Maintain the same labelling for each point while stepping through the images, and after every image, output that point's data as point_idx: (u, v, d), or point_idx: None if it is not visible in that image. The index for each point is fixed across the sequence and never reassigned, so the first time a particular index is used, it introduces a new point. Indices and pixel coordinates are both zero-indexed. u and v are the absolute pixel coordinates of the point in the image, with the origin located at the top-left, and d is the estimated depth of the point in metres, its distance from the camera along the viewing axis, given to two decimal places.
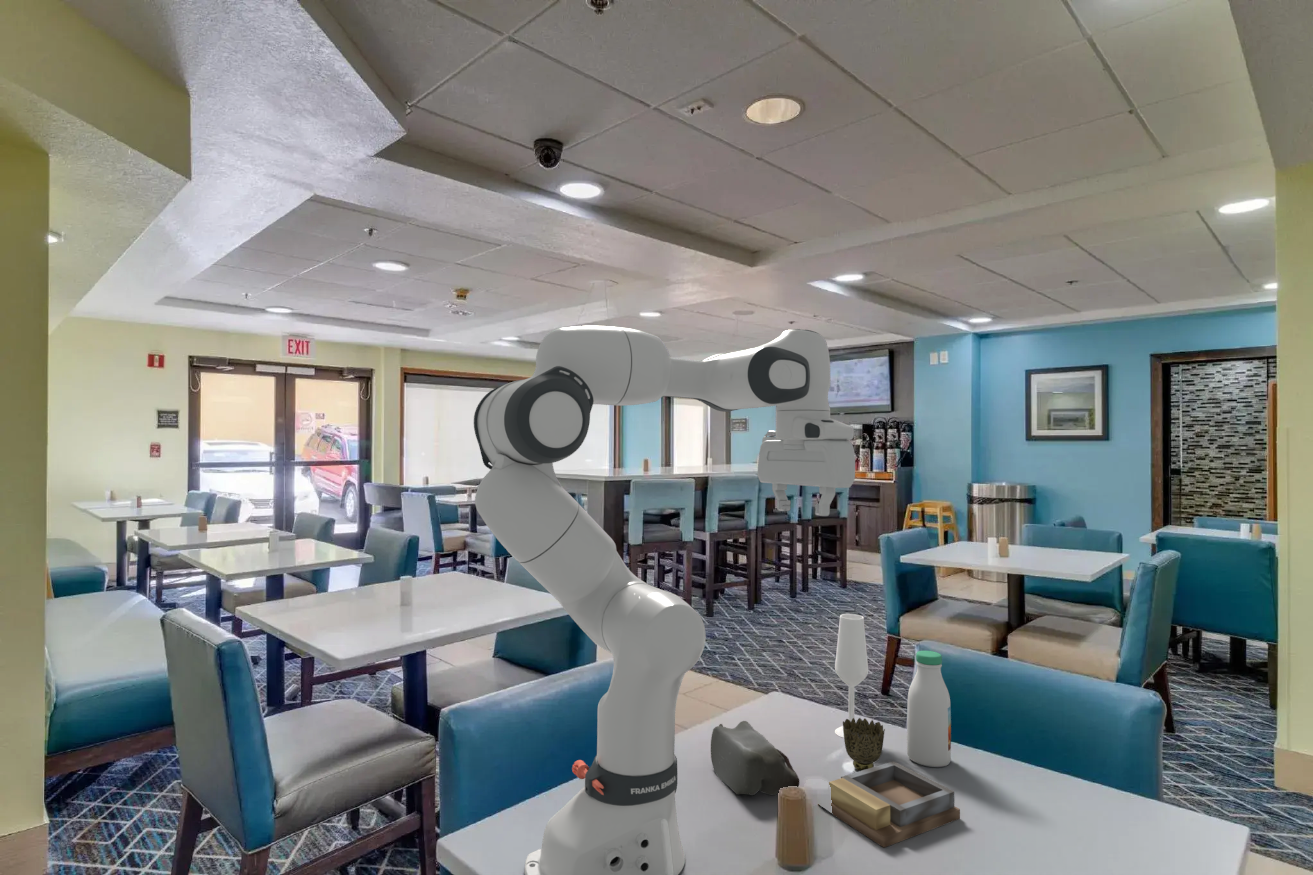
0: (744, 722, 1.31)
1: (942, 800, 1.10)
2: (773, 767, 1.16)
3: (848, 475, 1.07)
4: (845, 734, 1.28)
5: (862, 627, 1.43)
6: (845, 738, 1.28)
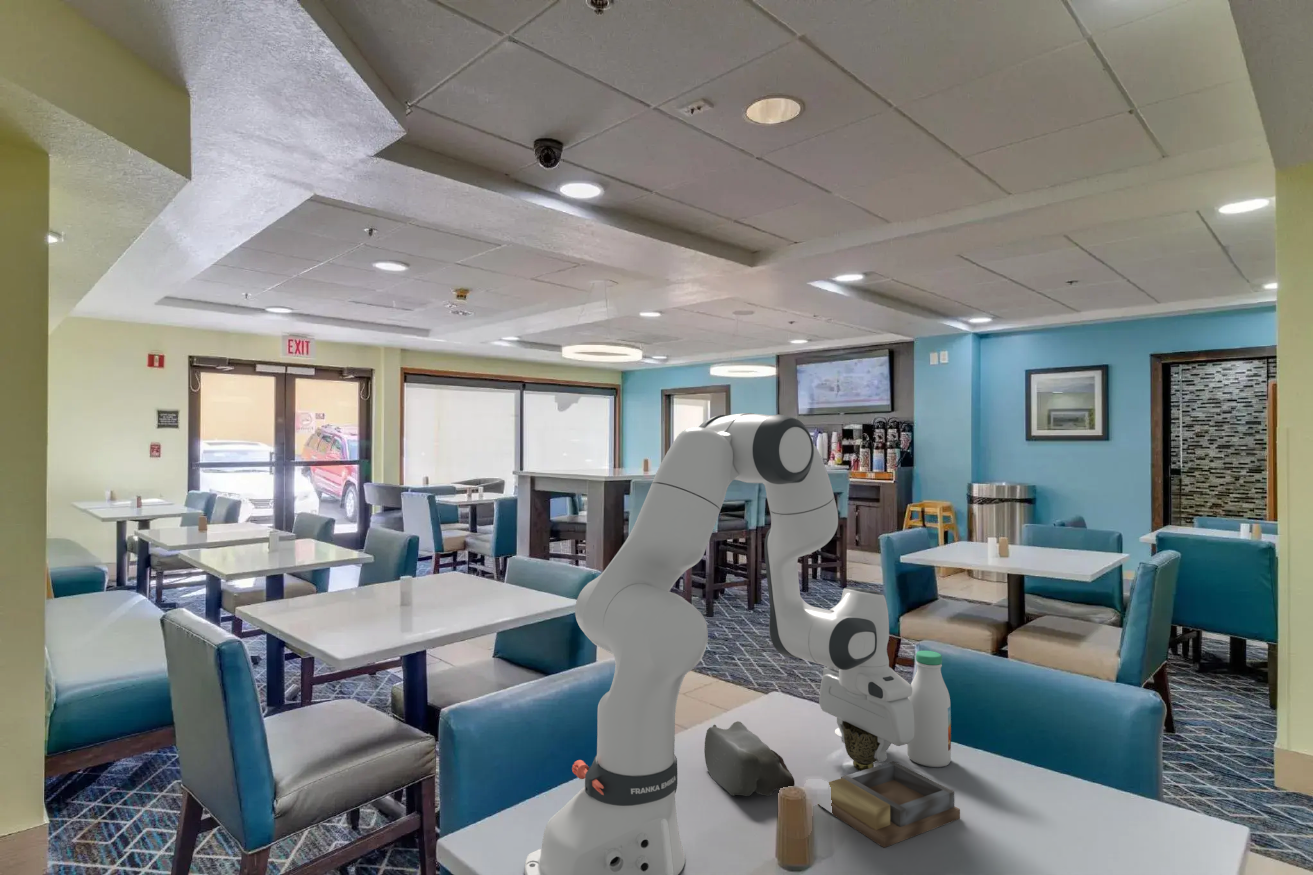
0: (738, 723, 1.31)
1: (942, 800, 1.10)
2: (768, 768, 1.16)
3: (908, 734, 1.20)
4: (845, 734, 1.28)
5: None
6: (845, 738, 1.28)
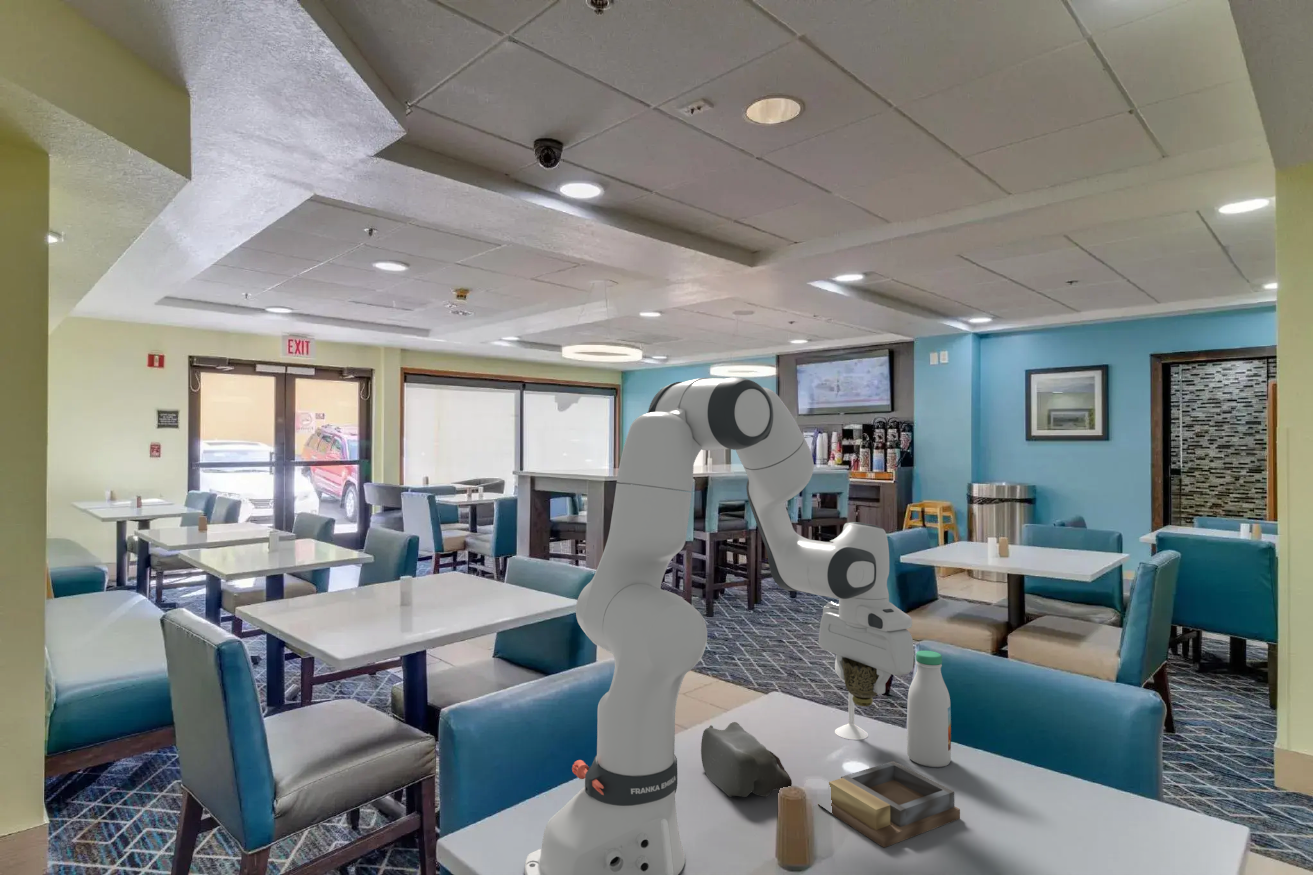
0: (734, 723, 1.31)
1: (942, 800, 1.10)
2: (765, 769, 1.16)
3: (908, 664, 1.20)
4: (845, 669, 1.28)
5: None
6: (845, 673, 1.28)
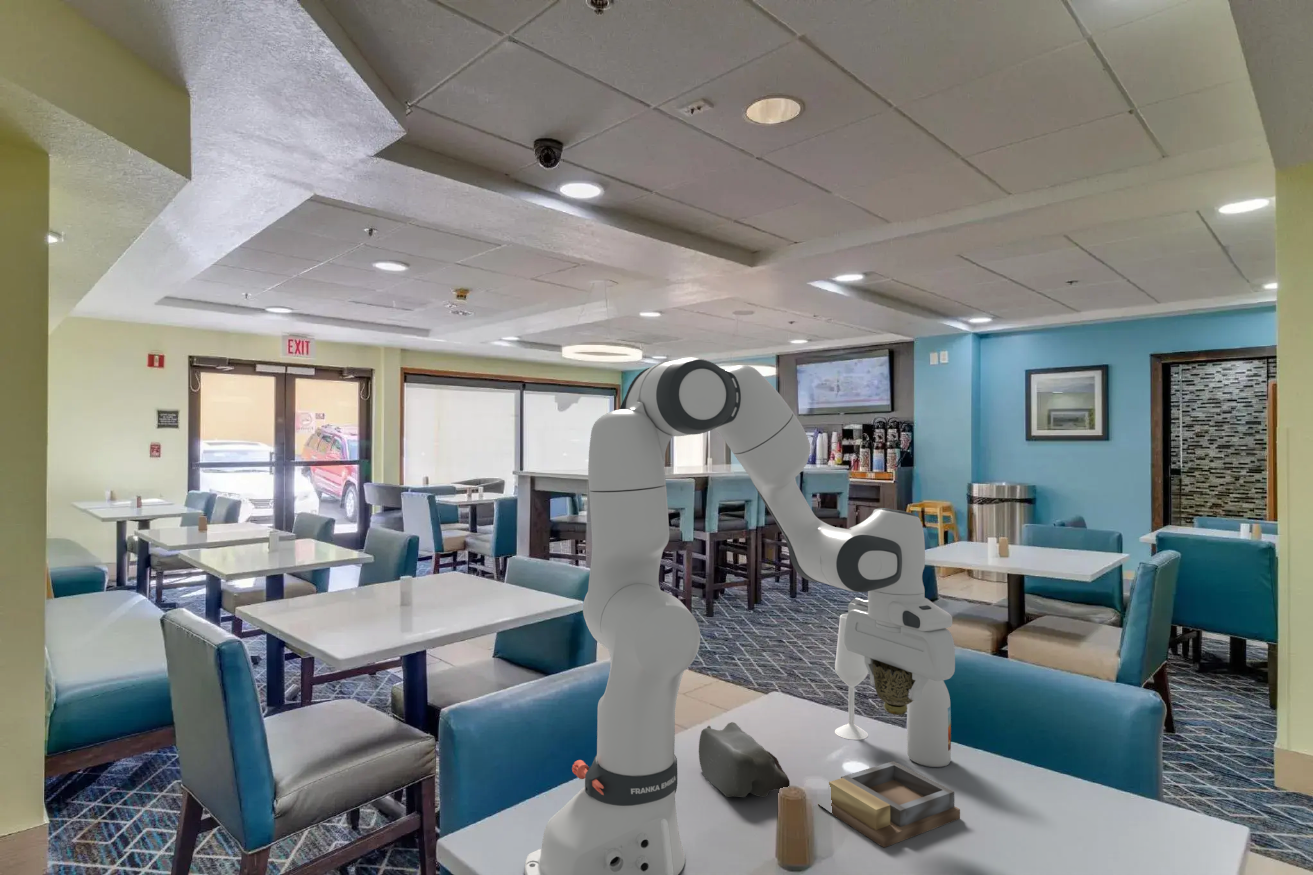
0: (732, 723, 1.31)
1: (942, 800, 1.10)
2: (763, 769, 1.16)
3: (949, 668, 1.06)
4: (875, 673, 1.14)
5: None
6: (875, 677, 1.14)
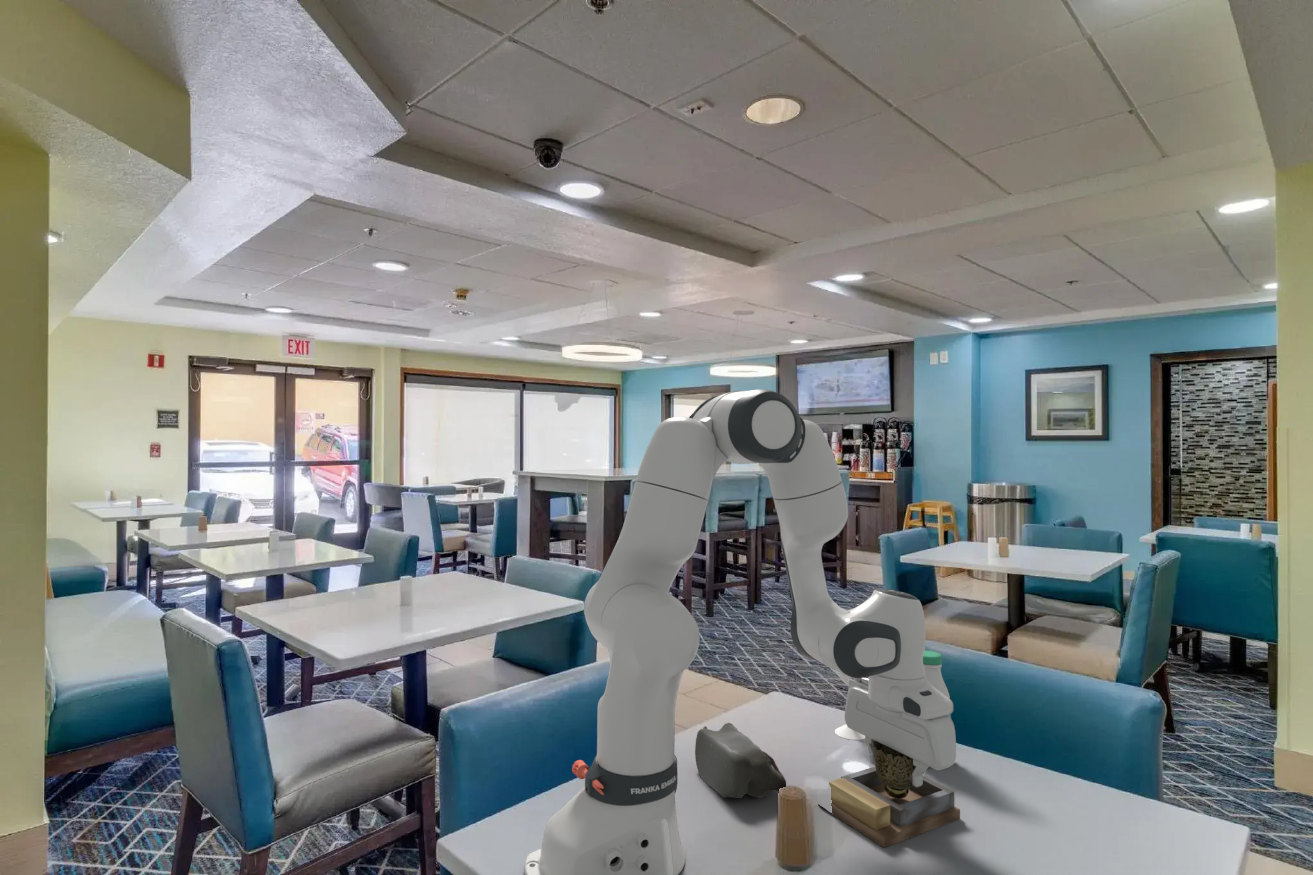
0: (728, 724, 1.30)
1: (942, 800, 1.10)
2: (760, 770, 1.15)
3: (950, 757, 1.05)
4: (876, 756, 1.13)
5: None
6: (876, 760, 1.13)
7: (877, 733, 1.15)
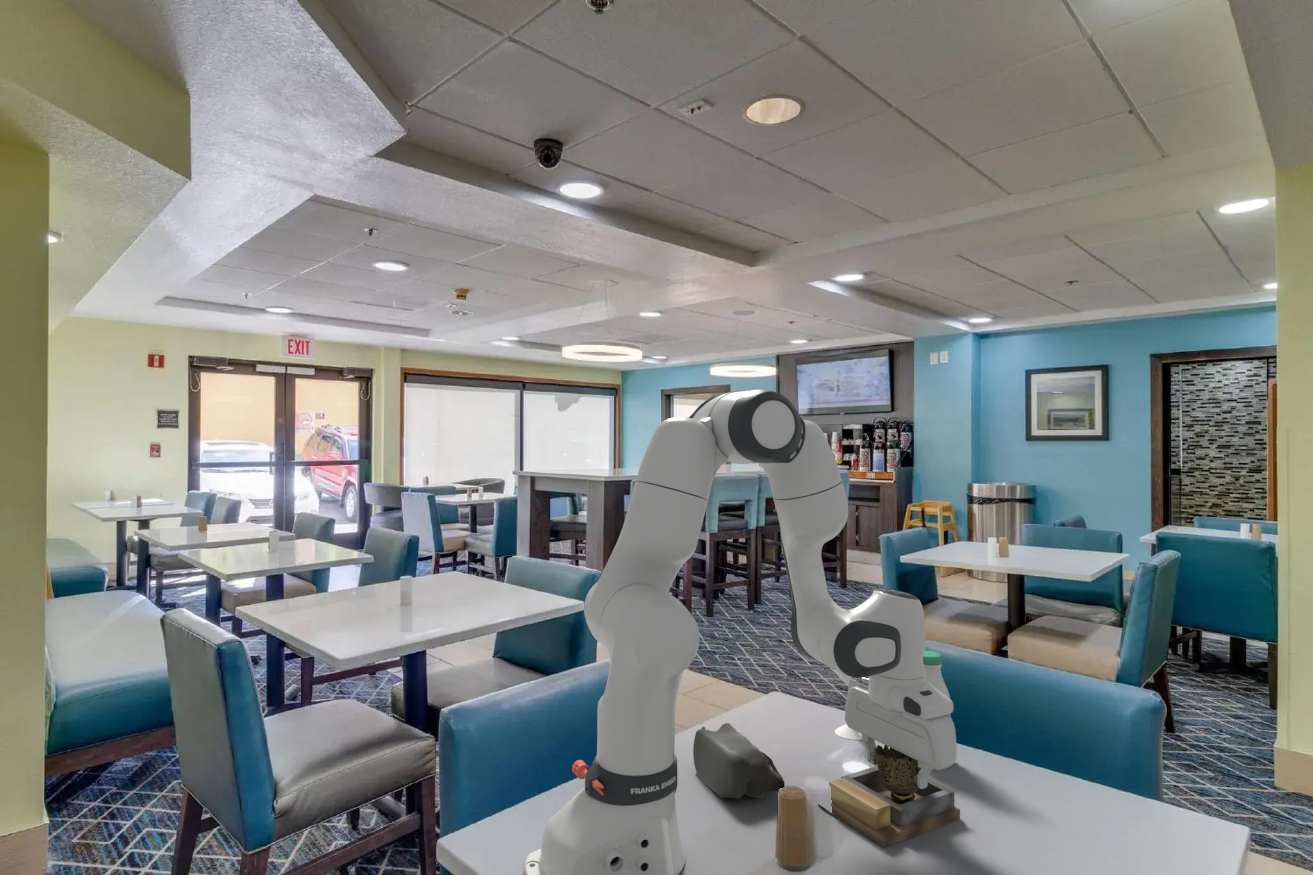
0: (727, 724, 1.30)
1: (942, 800, 1.10)
2: (758, 770, 1.15)
3: (950, 757, 1.05)
4: (878, 762, 1.13)
5: None
6: (879, 766, 1.13)
7: (877, 733, 1.15)
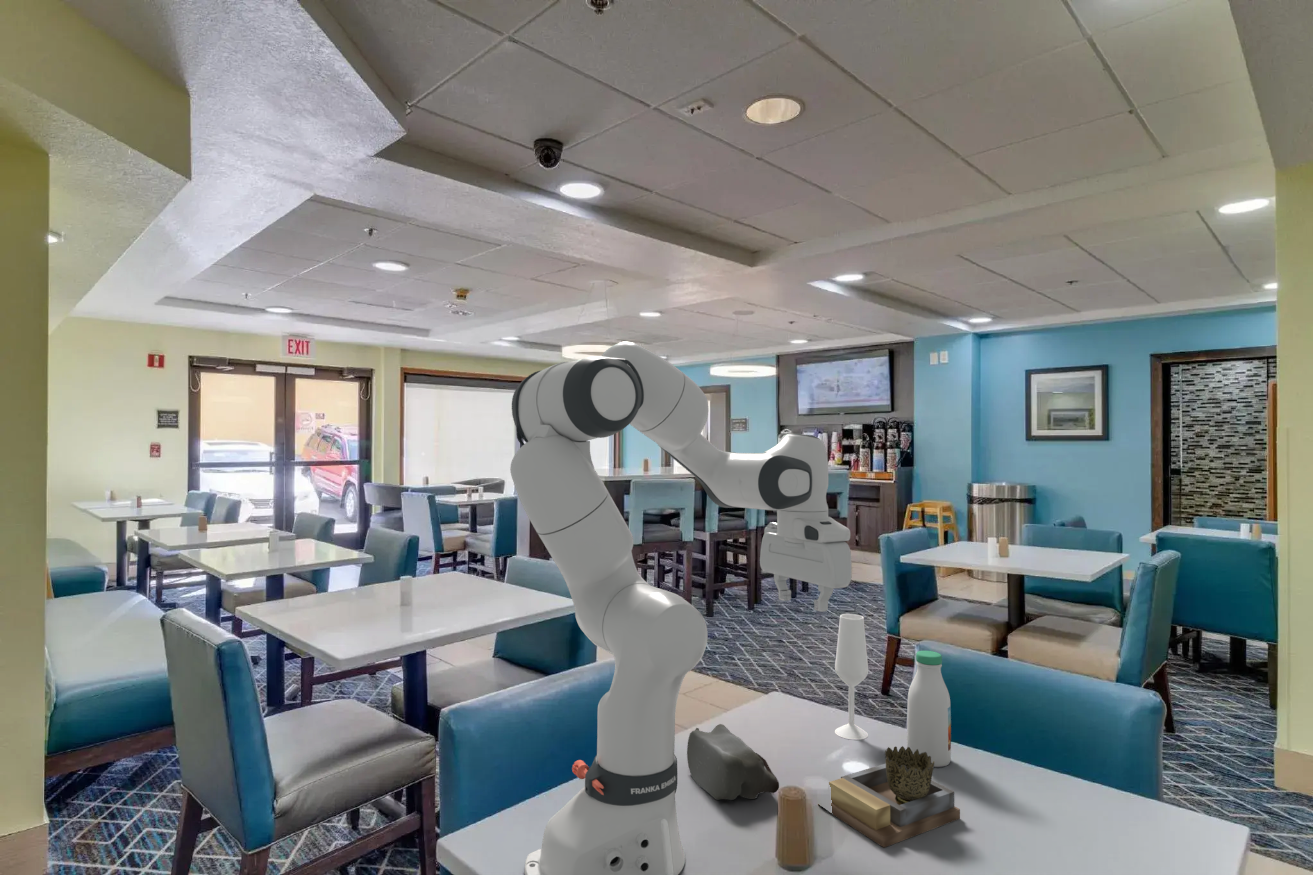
0: (720, 725, 1.30)
1: (942, 800, 1.10)
2: (753, 771, 1.15)
3: (845, 576, 1.14)
4: (889, 766, 1.11)
5: (862, 627, 1.43)
6: (888, 770, 1.11)
7: (785, 568, 1.24)
